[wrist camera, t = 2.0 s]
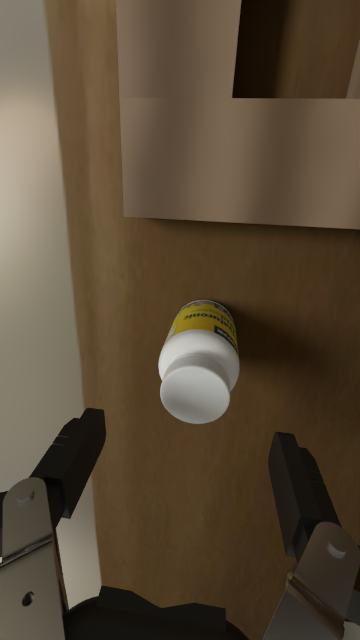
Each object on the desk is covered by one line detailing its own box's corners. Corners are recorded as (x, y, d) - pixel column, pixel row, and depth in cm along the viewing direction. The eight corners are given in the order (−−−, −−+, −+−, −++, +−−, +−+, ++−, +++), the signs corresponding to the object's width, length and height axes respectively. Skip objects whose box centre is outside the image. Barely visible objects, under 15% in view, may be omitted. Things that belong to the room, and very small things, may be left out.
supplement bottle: (245, 312, 23) (262, 381, 14) (218, 361, 25) (217, 447, 16) (187, 287, 23) (167, 341, 14) (165, 338, 25) (135, 413, 16)
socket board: (605, -288, 11) (733, -452, 8) (413, 229, 19) (445, 234, 16) (127, -226, 13) (103, -340, 10) (136, 215, 21) (124, 216, 18)
